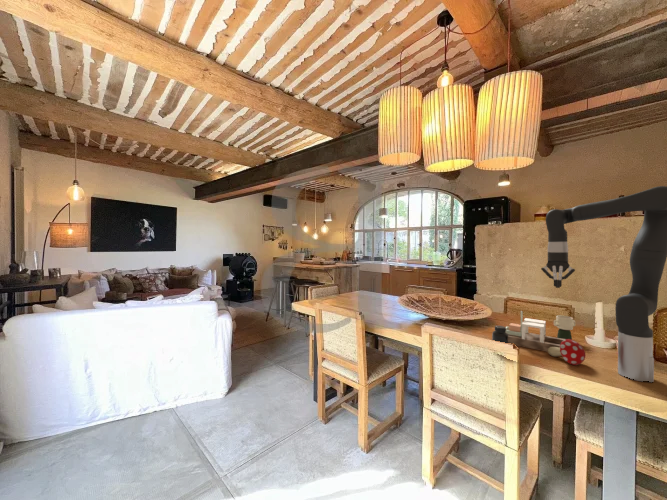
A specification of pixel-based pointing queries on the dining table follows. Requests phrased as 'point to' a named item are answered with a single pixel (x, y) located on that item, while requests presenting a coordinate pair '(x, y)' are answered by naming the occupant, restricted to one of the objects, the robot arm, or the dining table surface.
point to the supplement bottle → (500, 334)
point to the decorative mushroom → (569, 351)
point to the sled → (515, 331)
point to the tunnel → (535, 324)
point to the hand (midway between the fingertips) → (557, 287)
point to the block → (515, 327)
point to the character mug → (564, 326)
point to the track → (535, 341)
